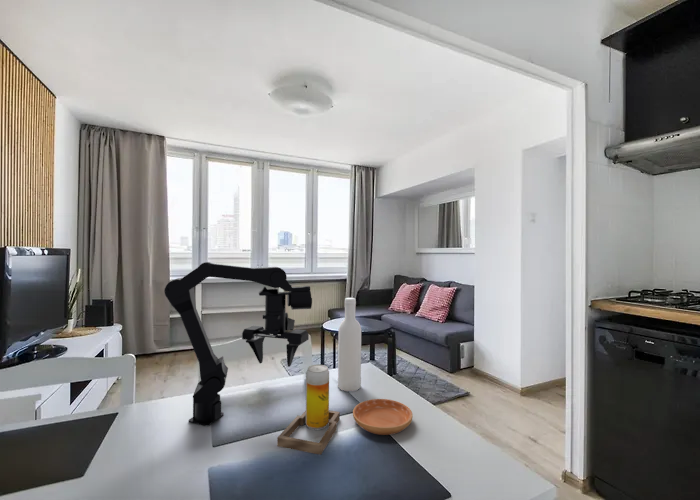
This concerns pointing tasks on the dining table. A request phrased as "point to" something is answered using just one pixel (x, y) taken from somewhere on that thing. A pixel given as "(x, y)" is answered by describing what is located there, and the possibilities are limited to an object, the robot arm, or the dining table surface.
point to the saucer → (382, 416)
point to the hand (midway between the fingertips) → (274, 364)
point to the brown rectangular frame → (305, 445)
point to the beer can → (317, 397)
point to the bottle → (349, 349)
